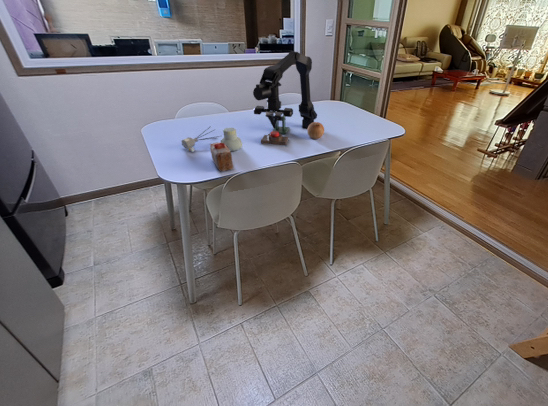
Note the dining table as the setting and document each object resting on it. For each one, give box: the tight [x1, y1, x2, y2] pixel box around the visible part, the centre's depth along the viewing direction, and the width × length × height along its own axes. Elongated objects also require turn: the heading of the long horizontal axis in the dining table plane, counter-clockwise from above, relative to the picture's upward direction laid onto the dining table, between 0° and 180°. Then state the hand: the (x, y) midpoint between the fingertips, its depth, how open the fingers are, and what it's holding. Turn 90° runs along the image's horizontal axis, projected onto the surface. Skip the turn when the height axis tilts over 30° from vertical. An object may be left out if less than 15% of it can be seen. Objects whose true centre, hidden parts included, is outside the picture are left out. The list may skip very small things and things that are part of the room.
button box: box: [260, 133, 290, 146], centre depth 151 cm, size 13×8×4 cm, turn 86°
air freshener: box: [220, 127, 243, 152], centre depth 138 cm, size 11×8×10 cm
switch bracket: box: [272, 114, 290, 135], centre depth 163 cm, size 10×8×9 cm
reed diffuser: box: [181, 126, 221, 153], centre depth 143 cm, size 10×7×20 cm
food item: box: [209, 141, 234, 172], centre depth 124 cm, size 14×8×10 cm, turn 31°
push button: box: [269, 130, 279, 137], centre depth 149 cm, size 4×4×2 cm
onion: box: [306, 121, 325, 140], centre depth 158 cm, size 10×9×10 cm
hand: (274, 128), depth 147 cm, fingers closed
